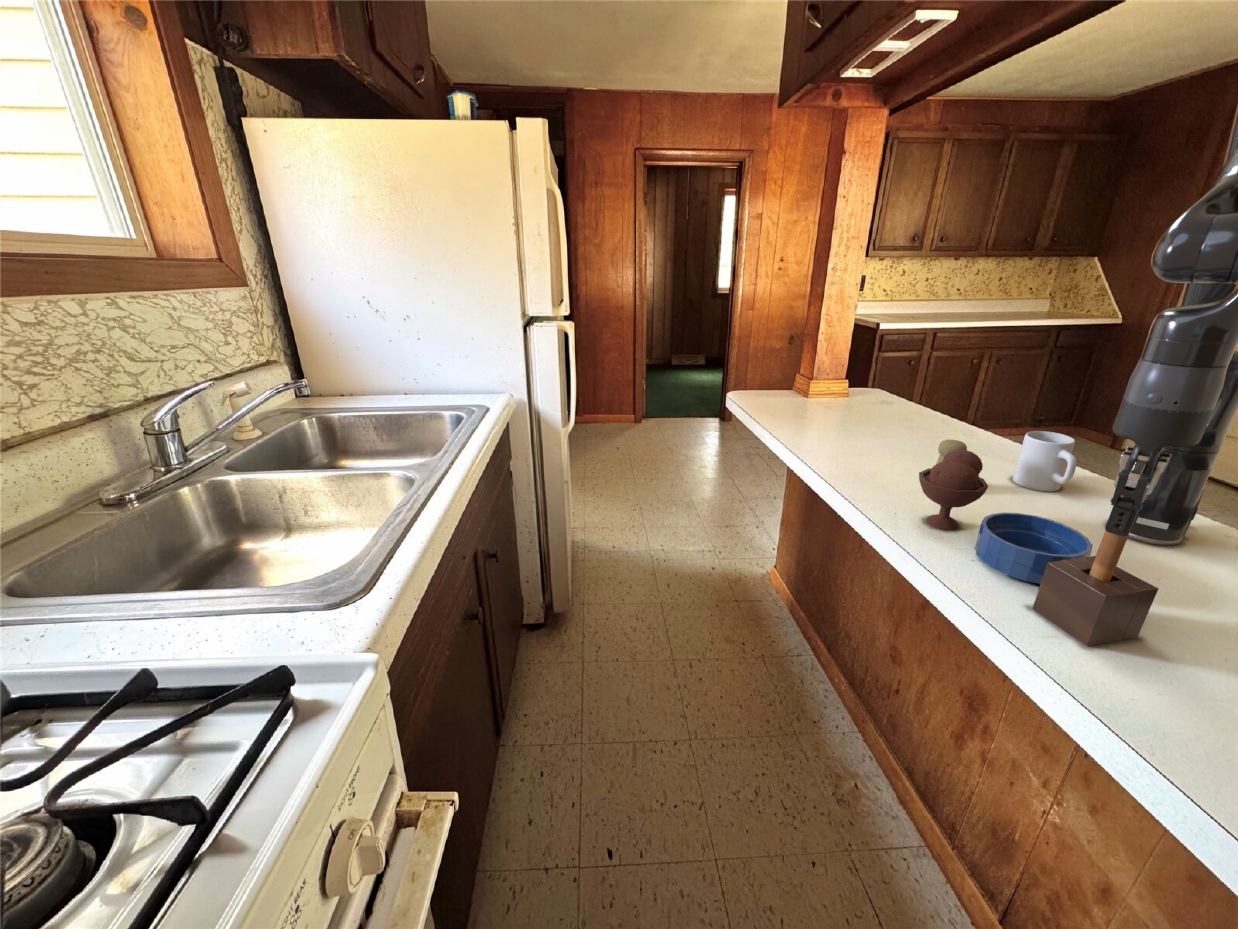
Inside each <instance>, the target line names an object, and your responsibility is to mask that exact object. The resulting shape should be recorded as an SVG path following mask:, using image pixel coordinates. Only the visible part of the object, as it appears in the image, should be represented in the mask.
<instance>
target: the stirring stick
mask: <svg viewBox="0 0 1238 929" xmlns="http://www.w3.org/2000/svg"><path fill="white" fill-rule="evenodd" d="M1121 497H1122V498H1127V499H1131V500H1135V499H1134V498H1131V497H1127V496H1121ZM1137 512H1138V511H1137ZM1136 515H1137V514H1136ZM1135 518H1136V516H1135ZM1134 520H1135V519H1134ZM1133 523H1134V521H1133ZM1132 525H1133V524H1132ZM1131 528H1132V527H1131ZM1130 530H1131V529H1130ZM1129 533H1130V532H1129ZM1128 535H1129V534H1128ZM1128 535H1127V536H1120V535H1117V534H1113V533H1109V532H1107V531H1106V530H1105V529H1104V533H1103V536H1102V539H1101V541H1100V543H1099V547H1098V549H1097V551H1096V554H1095V556H1096V557H1095V560H1094V562H1093V565H1092V568H1091V570H1090V573H1089V575H1090V576H1091V577H1093V578H1095V579H1097V580H1098V581H1100V582H1102V583H1105V582H1110V581H1111V579H1112V576H1113V574H1114V571H1115V568H1116V567H1118V566H1117V565H1118V564H1119V560H1120V558H1121V556H1122V553H1123V551H1124V548H1125V546H1126V543H1127V540H1128V538H1129V537H1128Z"/></svg>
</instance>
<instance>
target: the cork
mask: <svg viewBox="0 0 1238 929" xmlns="http://www.w3.org/2000/svg"><path fill="white" fill-rule="evenodd" d="M937 449H938V450H937V451H938V454H939V455H938V458H937V460H936V463H935V465H936V464H938V463H940V462H943V459H944V457H945V455H947V454H948V453H950V452H952V451H956V450H967V451H968V446H967V444H966V443H965V442H964V441H961V440H957V439H944V440H941V441H940V443H939V444H938V448H937Z"/></svg>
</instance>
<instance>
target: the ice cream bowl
mask: <svg viewBox="0 0 1238 929" xmlns="http://www.w3.org/2000/svg"><path fill="white" fill-rule="evenodd" d="M983 467H984V466H983V462H982V459H981V457H980V456H978V454H976V453H974V452H973V451H970V450H968V449H967V450H956V451H952V452H950V453H948V454H947V455H945V457H944V459H943V462H940V463H938V464H936V463H935V464H934V465H933V466H932V467H929V468H926V469H924V470H921V471H920V472H918V479H919V484H920V487H921V489H922V492H923V494H924V496H926V497H927V498H928V499H929V500H931V502H933V503H935V504H937V505H939V506H940V508H939V512H938V513H937V514H931V515H929V516H927V517H926V518H925V522H926V524H927V525H929V526H930V527H932V528H934V529H937V530H941V531H944V532H945V531H946V532H947V531H949V532H951V531H953V532H954V531H956V530H958V529H960V525H959V522H958V521H957V520H956V519H954V518H953V517H952V516H951V511H952V510H953V508H963V507H966V506H968V505H971V504H972V503H974V502H976V501H978V500H979V499H981V498H982V497H983V496H984V495H985V494H986V492H987V490H988V489H989V485H988V484H987V482H986V480H985V479H984V478H982V477H980V473H981V472H982V470H983Z"/></svg>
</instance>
